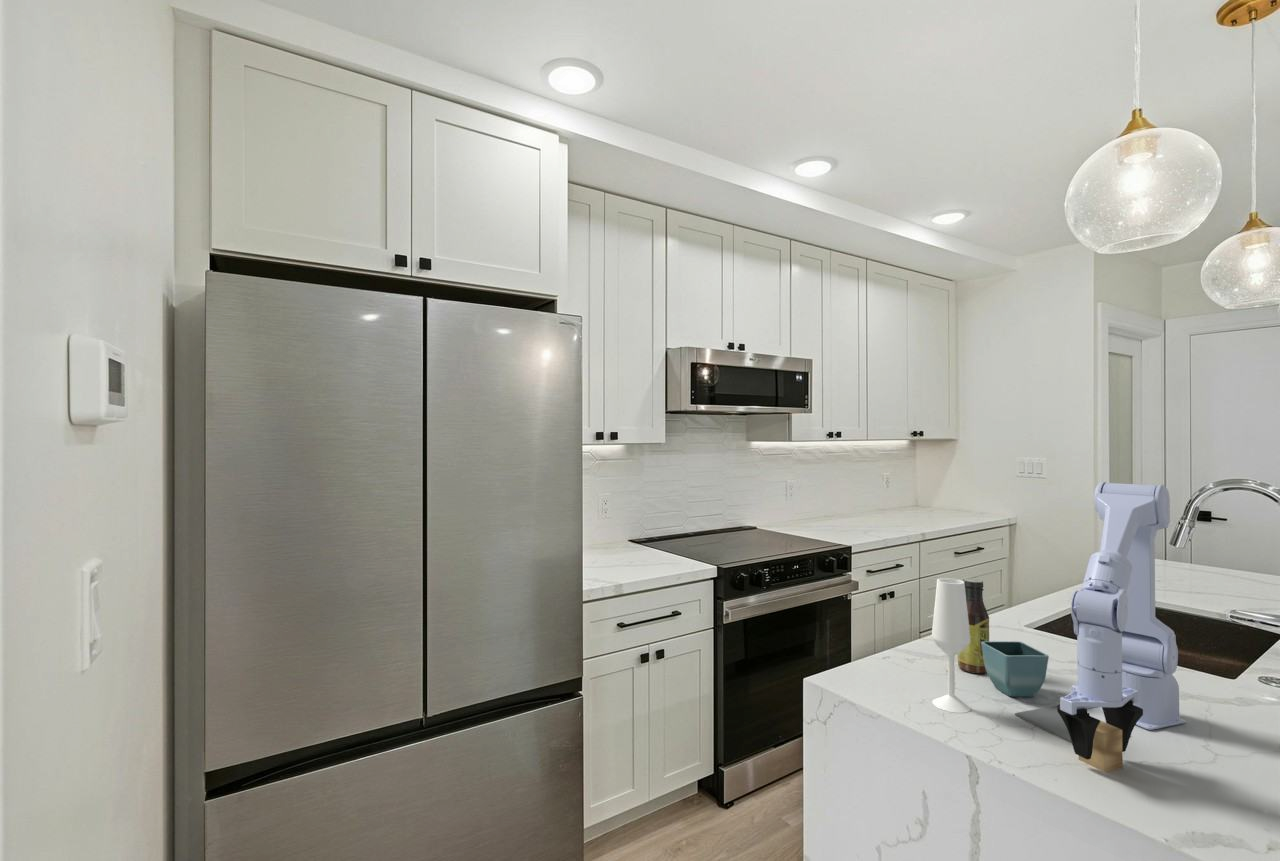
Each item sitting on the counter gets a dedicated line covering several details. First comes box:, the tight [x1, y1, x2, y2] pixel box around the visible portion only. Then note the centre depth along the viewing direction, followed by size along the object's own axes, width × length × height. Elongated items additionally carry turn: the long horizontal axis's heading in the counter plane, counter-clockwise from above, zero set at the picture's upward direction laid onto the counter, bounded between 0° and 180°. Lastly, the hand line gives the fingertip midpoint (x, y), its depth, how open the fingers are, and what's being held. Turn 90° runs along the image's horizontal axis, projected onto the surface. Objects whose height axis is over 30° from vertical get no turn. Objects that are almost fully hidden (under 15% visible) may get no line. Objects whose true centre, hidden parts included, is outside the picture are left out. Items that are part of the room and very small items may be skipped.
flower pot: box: [981, 640, 1050, 697], centre depth 124 cm, size 9×9×9 cm
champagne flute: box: [931, 577, 972, 714], centre depth 118 cm, size 7×7×24 cm
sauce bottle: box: [957, 578, 990, 674], centre depth 136 cm, size 7×6×20 cm
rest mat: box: [1014, 705, 1072, 744], centre depth 110 cm, size 12×12×1 cm
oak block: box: [1078, 719, 1124, 773], centre depth 97 cm, size 4×4×6 cm
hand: (1100, 752), depth 97 cm, fingers open, 7 cm apart
